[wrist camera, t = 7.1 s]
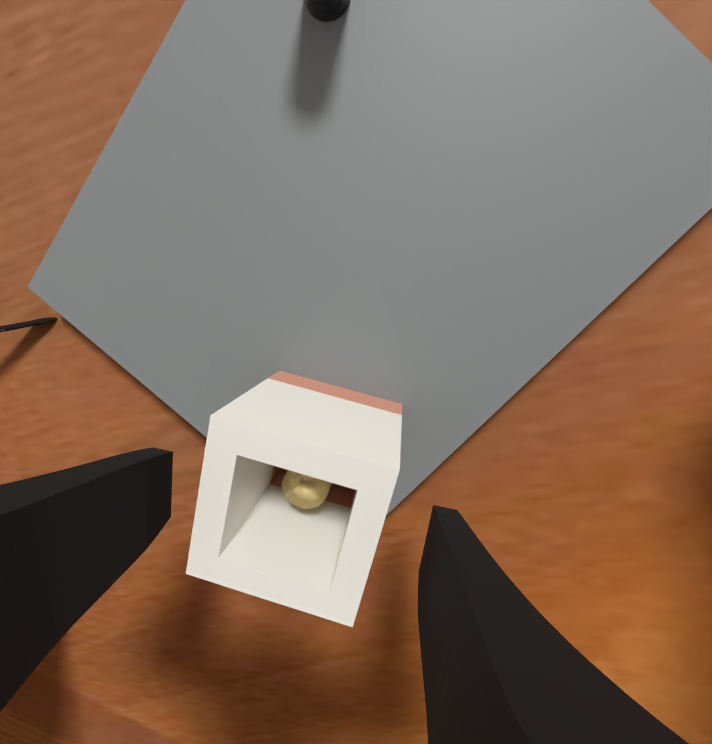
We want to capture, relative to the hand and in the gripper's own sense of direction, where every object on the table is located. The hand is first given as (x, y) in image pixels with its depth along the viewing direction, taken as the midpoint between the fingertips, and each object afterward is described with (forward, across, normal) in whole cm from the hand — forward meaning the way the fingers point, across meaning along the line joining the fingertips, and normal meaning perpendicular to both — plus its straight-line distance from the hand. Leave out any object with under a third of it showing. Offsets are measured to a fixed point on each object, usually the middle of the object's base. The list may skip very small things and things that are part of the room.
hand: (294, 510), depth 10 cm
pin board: (+6, 0, -8) cm, 10 cm away
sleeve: (+4, 0, 0) cm, 4 cm away
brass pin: (+4, 0, 0) cm, 4 cm away
